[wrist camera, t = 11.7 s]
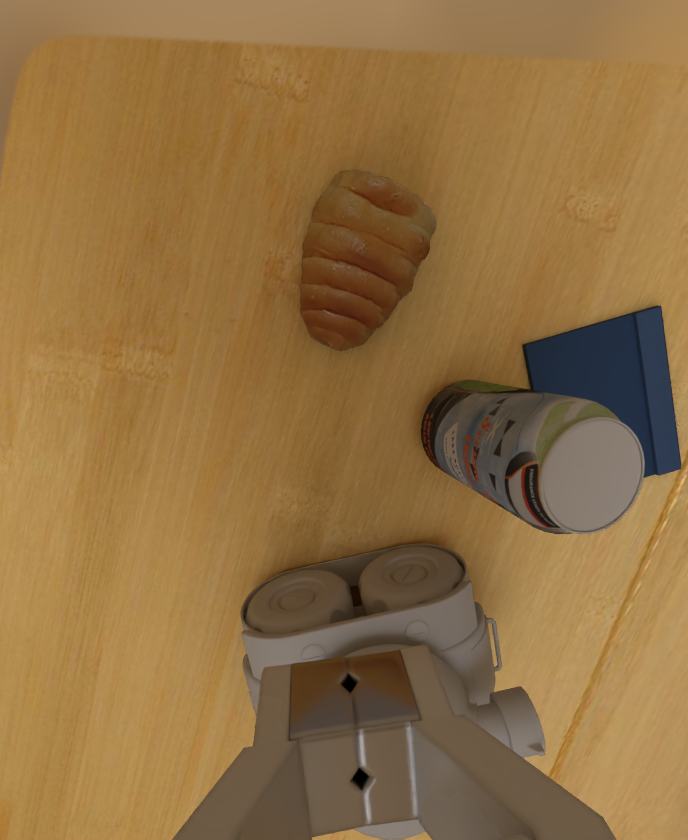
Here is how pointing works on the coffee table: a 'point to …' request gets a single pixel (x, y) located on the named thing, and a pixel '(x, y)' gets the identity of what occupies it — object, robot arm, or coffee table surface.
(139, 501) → the coffee table surface
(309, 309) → the pastry
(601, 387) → the book
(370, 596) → the toy tank
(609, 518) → the beverage can
